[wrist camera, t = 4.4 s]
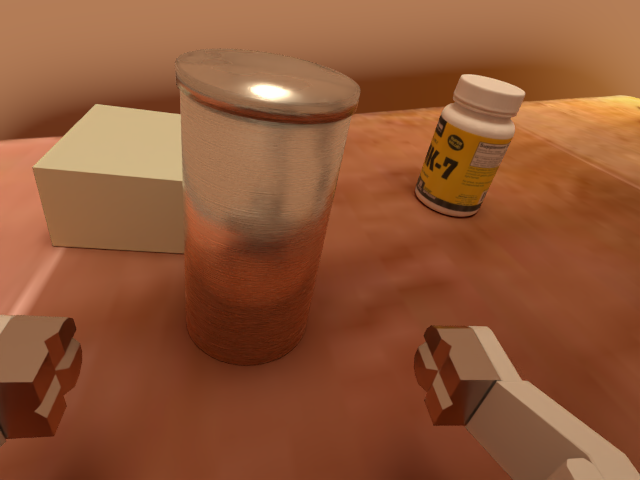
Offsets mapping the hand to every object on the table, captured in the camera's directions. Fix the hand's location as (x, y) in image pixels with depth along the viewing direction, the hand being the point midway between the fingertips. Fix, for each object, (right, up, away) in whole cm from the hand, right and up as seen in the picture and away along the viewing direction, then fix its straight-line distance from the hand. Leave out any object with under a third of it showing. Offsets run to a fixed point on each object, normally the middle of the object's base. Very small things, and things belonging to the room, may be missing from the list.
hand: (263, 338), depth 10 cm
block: (-8, +4, +13) cm, 16 cm away
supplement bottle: (+11, +5, +20) cm, 23 cm away
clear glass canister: (-2, -1, +8) cm, 8 cm away
